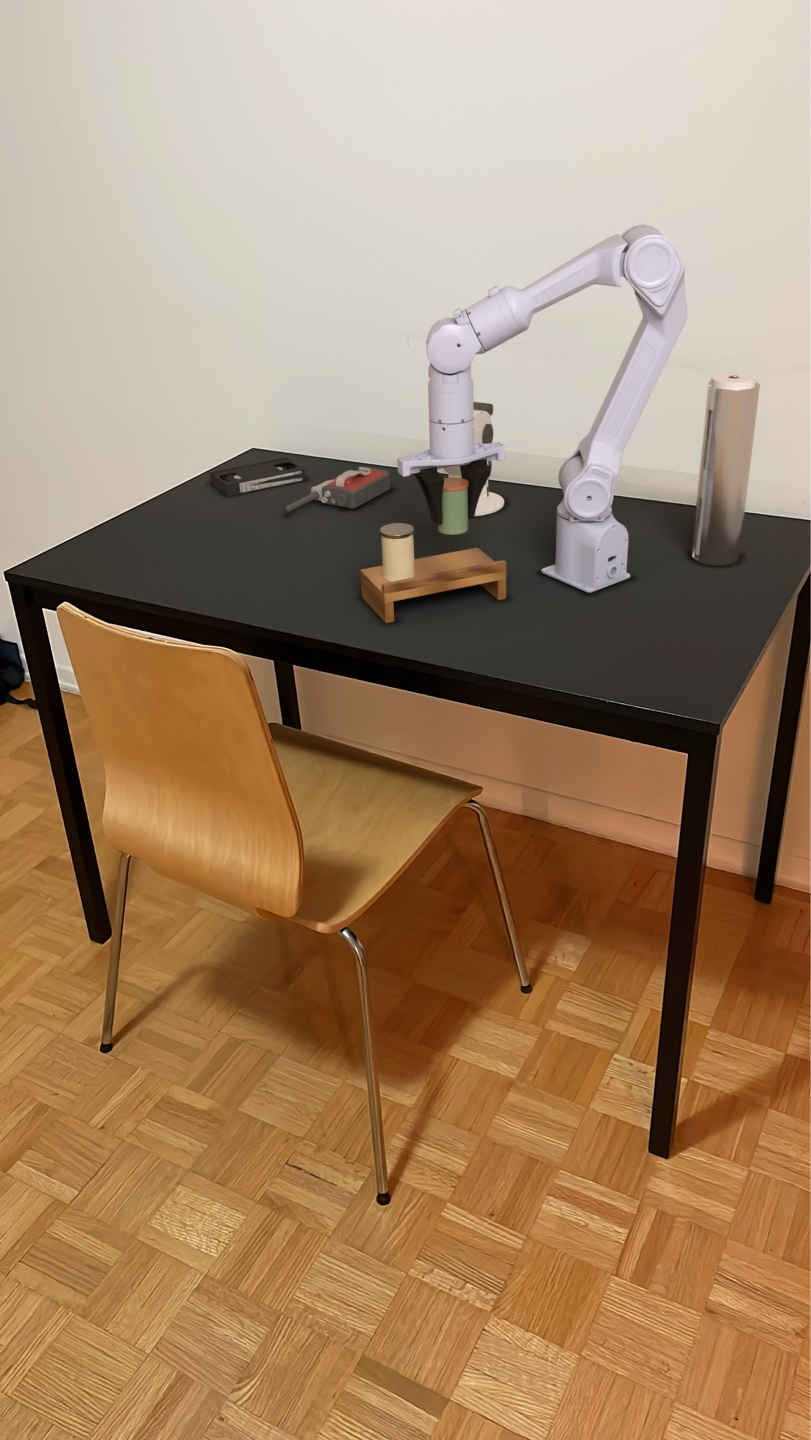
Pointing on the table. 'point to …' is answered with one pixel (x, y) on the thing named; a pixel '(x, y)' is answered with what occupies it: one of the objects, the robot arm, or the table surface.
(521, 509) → the table surface
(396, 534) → the cream tin
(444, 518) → the sage tin
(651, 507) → the table surface
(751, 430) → the silver metal cylinder
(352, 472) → the walkie-talkie
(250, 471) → the vhs tape
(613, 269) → the robot arm
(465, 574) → the shelf
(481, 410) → the panda figurine
